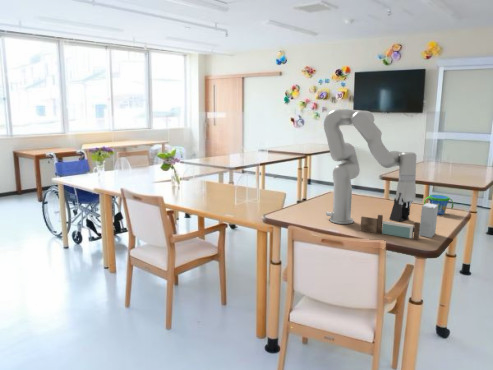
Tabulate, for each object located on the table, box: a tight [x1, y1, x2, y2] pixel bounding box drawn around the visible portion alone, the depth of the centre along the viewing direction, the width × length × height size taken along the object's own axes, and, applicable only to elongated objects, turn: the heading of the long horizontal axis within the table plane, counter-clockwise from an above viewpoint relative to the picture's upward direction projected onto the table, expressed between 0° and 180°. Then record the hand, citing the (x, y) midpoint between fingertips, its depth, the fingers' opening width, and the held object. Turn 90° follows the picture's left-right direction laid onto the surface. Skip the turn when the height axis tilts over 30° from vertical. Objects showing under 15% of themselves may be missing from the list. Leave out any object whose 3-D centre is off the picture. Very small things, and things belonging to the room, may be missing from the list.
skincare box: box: [419, 202, 438, 239], centre depth 201 cm, size 8×6×15 cm
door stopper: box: [389, 197, 410, 223], centre depth 228 cm, size 9×6×12 cm, turn 123°
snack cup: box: [423, 194, 454, 216], centre depth 241 cm, size 16×10×10 cm
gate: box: [382, 220, 414, 239], centre depth 199 cm, size 14×2×6 cm, turn 56°
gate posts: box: [360, 214, 420, 241], centre depth 202 cm, size 28×3×9 cm, turn 56°
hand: (405, 215), depth 203 cm, fingers closed
